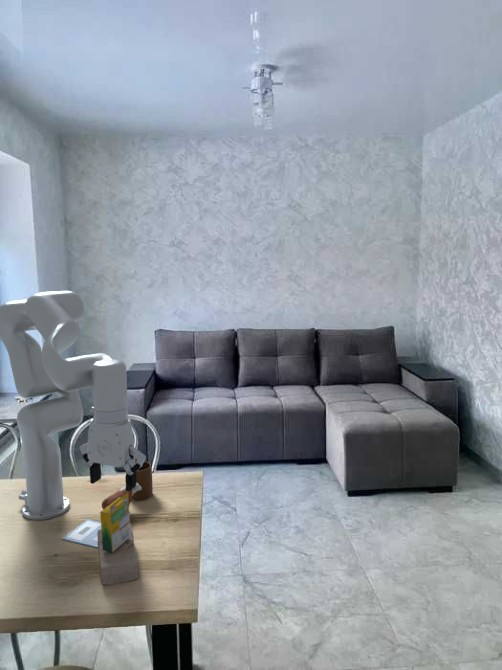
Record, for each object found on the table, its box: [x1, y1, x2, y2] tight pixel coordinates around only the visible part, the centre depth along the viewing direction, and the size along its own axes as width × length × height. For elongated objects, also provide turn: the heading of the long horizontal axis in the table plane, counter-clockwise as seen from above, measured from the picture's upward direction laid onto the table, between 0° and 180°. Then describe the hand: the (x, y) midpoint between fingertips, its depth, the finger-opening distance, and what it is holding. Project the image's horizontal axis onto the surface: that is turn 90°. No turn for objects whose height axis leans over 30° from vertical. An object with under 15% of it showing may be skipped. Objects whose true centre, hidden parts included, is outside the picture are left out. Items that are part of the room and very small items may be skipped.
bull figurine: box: [101, 483, 142, 514], centre depth 142 cm, size 4×13×8 cm, turn 146°
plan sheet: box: [62, 519, 101, 549], centre depth 132 cm, size 14×10×1 cm
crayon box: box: [100, 493, 131, 553], centre depth 119 cm, size 7×3×12 cm, turn 158°
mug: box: [125, 458, 154, 502], centre depth 155 cm, size 12×8×9 cm, turn 26°
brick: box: [97, 523, 140, 586], centre depth 120 cm, size 17×8×5 cm, turn 19°
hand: (113, 484), depth 118 cm, fingers open, 9 cm apart
